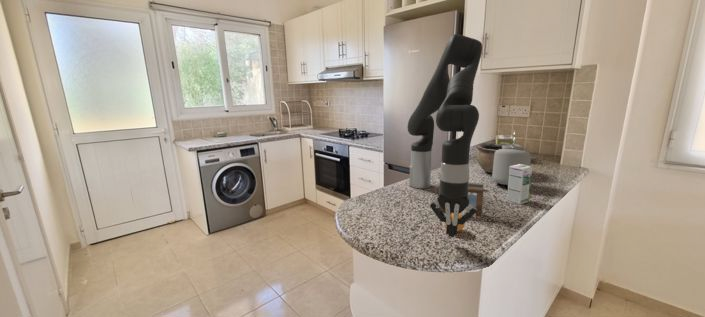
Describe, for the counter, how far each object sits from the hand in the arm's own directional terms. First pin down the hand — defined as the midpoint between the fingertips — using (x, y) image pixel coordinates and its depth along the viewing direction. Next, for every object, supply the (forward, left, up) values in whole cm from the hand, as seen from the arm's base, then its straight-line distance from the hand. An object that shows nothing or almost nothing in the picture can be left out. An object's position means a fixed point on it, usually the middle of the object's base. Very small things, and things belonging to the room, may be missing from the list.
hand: (451, 235), depth 85 cm
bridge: (0, +25, -3) cm, 25 cm away
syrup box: (+20, +45, -3) cm, 49 cm away
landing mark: (0, +39, -3) cm, 39 cm away
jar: (+18, +67, -3) cm, 69 cm away
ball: (0, +9, 0) cm, 9 cm away
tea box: (+17, +124, -3) cm, 125 cm away
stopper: (0, +55, -3) cm, 55 cm away
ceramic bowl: (+13, +88, -3) cm, 89 cm away
